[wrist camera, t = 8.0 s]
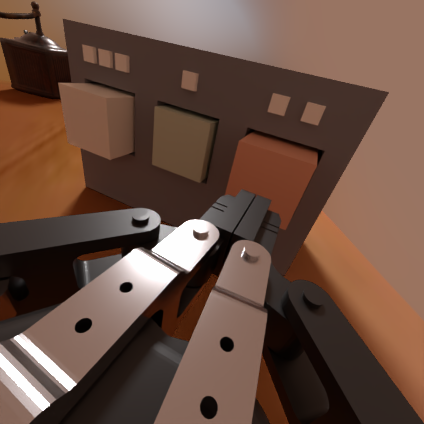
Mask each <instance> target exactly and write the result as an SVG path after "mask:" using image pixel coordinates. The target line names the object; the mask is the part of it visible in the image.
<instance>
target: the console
mask: <svg viewBox="0 0 424 424" xmlns="http://www.w3.org/2000/svg"><path fill="white" fill-rule="evenodd" d="M63 24H64V32H65V39H66V46H67V53H68V60H69V68H70V75H71V82H72V83H97V84H105V85H108V86H112V87H115V88H118V89H122V90H125V91H128V92H132V93H135V152H132V153H129V154H126V155H123V156H120V157H117V158H115V159H112V160H109V159H107V158H104V157H102V156H99V155H97V154H94V153H92V152H89V151H87V150H84V149H82V148H81V154H82V161H83V169H84V176H85V183H86V187H89V188H91V189H93V190H95V191H98V192H100V193H102V194H104V195H106V196H109V197H111V198H113V199H115V200H117V201H120V202H122V203H124V204H126V205H129V206H131V207H133V208H146V209H150V210H153V211H155V212H156V213H157V214H158V215H159V216H160V218H161V220H162V221H164V222H166V223H168V224H171V225H173V226H175V227H180V226H182V225H183V224H184V223H186V222H187V221H190V220H199V219H200V218H201V217H202V216H203V215H204V214H205V213H206V212H207V211H208V210H209V209H210V208H211V207H212V205H213V204H214V203H216V201H217V200H218V199H219V198H220V197H222V196H225V192H226V188H227V185H228V181H229V177H230V173H231V169H232V165H233V162H234V158H235V154H236V150H237V146H238V143H239V140H241V139H242V138H244V137H245V136H247V135H249V134H250V133H252V132H253V131H255V130H257V131H261V132H264V133H267V134H271V135H274V136H277V137H281V138H284V139H287V140H291V141H294V142H297V143H301V144H304V145H307V146H310V147H314V148H317V149H318V159H317V167H316V169H315V171H314V173H313V175H312V177H311V179H310V181H309V183H308V185H307V187H306V189H305V191H304V193H303V195H302V198H301V200H300V202H299V204H298V206H297V208H296V210H295V212H294V214H293V216H292V218H291V220H290V222H289V224H288V226H287V228H286V230H284V229H281V228H279V231H278V234H277V237H276V240H275V244H274V247H273V250H272V253H271V262H272V264H273V266H274V268H275V269H276V270H277V271H278V272H279V273H280V274H281V275H284V276H285V274H286V272H287V270H288V269H289V267H290V265H291V263H292V262H293V260H294V258H295V256H296V254H297V253H298V251H299V249H300V247H301V246H302V244H303V242H304V240H305V239H306V237H307V235H308V233H309V232H310V230H311V228H312V226H313V225H314V223H315V221H316V219H317V218H318V216H319V214H320V212H321V211H322V209H323V207H324V205H325V204H326V202H327V200H328V198H329V197H330V195H331V193H332V191H333V190H334V188H335V186H336V184H337V183H338V181H339V179H340V177H341V175H342V174H343V172H344V170H345V169H346V167H347V165H348V163H349V161H350V160H351V158H352V156H353V155H354V153H355V151H356V149H357V148H358V146H359V144H360V142H361V141H362V139H363V137H364V135H365V134H366V132H367V130H368V128H369V127H370V125H371V123H372V121H373V119H374V118H375V116H376V114H377V112H378V111H379V109H380V107H381V105H382V103H383V102H384V100H385V98H386V96H387V95H388V92H385V91H380V90H376V89H371V88H367V87H363V86H358V85H354V84H349V83H345V82H340V81H336V80H332V79H327V78H323V77H318V76H314V75H309V74H305V73H300V72H296V71H292V70H287V69H282V68H278V67H274V66H269V65H265V64H261V63H256V62H252V61H247V60H243V59H238V58H234V57H230V56H225V55H220V54H216V53H212V52H208V51H203V50H199V49H194V48H190V47H185V46H180V45H177V44H172V43H168V42H163V41H159V40H154V39H150V38H146V37H141V36H137V35H132V34H128V33H124V32H119V31H115V30H110V29H106V28H101V27H97V26H92V25H88V24H83V23H79V22H75V21H70V20H66V19H63ZM164 105H175V106H178V107H181V108H185V109H188V110H191V111H195V112H198V113H201V114H204V115H208V116H211V117H214V118H218V119H220V120H219V125H218V130H217V135H216V139H215V144H214V149H213V154H212V159H211V164H210V169H209V174H208V177H207V178H205V179H204V180H203V181H201V182H200V183H199V182H196V181H194V180H191V179H188V178H186V177H183V176H181V175H178V174H175V173H173V172H170V171H168V170H165V169H162V168H160V167H157V166H155V165H152V153H153V132H154V110H155V106H164Z"/></svg>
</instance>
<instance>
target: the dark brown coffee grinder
mask: <svg viewBox="0 0 424 424" xmlns="http://www.w3.org/2000/svg"><path fill="white" fill-rule="evenodd" d="M31 6H32V8H33V10H32V13H28V14H27V13H2V12H0V18H5V19H32V18H35V23H36V29H37V31H36V33H31V32H29V33H28V32H27V31H26V30H24V33H25V34H24V35H23V36H21V37H20V38H18V37H15V38H14V39H6V38H0V42H1V45H2V49H3V53H4V57H5V60H6V64H7V68H8V71H9V75H10V79H11V83H12V85H11V87H12V88H14V89H17V90H20V91H23V92H27V93H30V94H34V95H38V96H42V97H46V98H51V99H61V97H60V91H59V85H58V83H72V82H71V75H70V68H69V60H68V53H67V50H66V49H63V48H61V47H60V46H59V45H58V44H57V43H56V42H54V41H53V40H51V39H50V38H48V37H45V36H44V34H43V32H42V29H41V23H40V16H41V14H40V12H39V5H38V4H37V3H36V2H31Z"/></svg>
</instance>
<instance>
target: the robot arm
mask: <svg viewBox="0 0 424 424" xmlns="http://www.w3.org/2000/svg"><path fill="white" fill-rule="evenodd" d="M271 201H272V200H270V199H268V198H265V197H262V196H260V195H257V196H256V194H254V193H251V192H249V191H246V190H243V189H241V191H240V192H239V193H238V194H237V196H236V197H234V196H231V195H229V194H228V195H225V196H222V197H220V198H219V199H218V200H217V201H216V203H214V204H213V205H212V207H211V208H210V209H209V210H208V211H207V212H206V213H205V214H204V215H203V216H202V217H201V218H200V219H199V220H190V221H187V222H186V223H184V224H183V225H182V226H180V227H172V226H167V225H162V224H160V222H161V218H160V216H159V215H158V214H157V213H156V212H155V211H153V210H150V209H146V208H134V209H125V210H116V211H107V212H98V213H89V214H80V215H71V216H62V217H53V218H44V219H35V220H26V221H17V222H8V223H0V424H270V423H269V420H268V418H267V416H266V414H265V412H264V411H263V409H262V407H261V405H260V404H259V402H258V401H257V399H256V398H255V396H256V390H257V383H258V376H259V369H260V363H261V356H262V354H263V357H264V359H265V362H266V365H267V367H268V370H269V372H270V375H271V378H272V380H273V383H274V385H275V388H276V391H277V393H278V396H279V399H280V401H281V404H282V406H283V409H284V412H285V414H286V417H287V419H288V422H289V424H424V423H423V421H422V420H421V419H420V417H419V416H418V415H417V413H416V412H415V411H414V409H413V408H412V407H411V405H410V404H409V403H408V401H407V400H406V399H405V397H404V396H403V394H402V393H401V392H400V390H399V389H398V388H397V386H396V385H395V384H394V382H393V381H392V380H391V378H390V377H389V376H388V374H387V373H386V372H385V370H384V369H383V367H382V366H381V365H380V363H379V362H378V361H377V359H376V358H375V357H374V355H373V354H372V353H371V351H370V350H369V349H368V347H367V346H366V345H365V343H364V342H363V340H362V339H361V338H360V336H359V335H358V334H357V332H356V331H355V330H354V328H353V327H352V326H351V324H350V323H349V322H348V320H347V319H346V318H345V316H344V315H343V313H342V312H341V311H340V309H339V308H338V307H337V305H336V304H335V303H334V301H333V300H332V299H331V297H330V296H329V295H328V294H327V293H326V292H325V291H324V290H323V289H322V288H321V287H319V286H318V285H316V284H314V283H312V282H310V281H306V280H295V281H293V282H292V283H291V282H290V281H288V280H287V279H286V278H284V277H283V276H282V275H281V274H280V273H279V272H278V271H277V270H276V269H275V268H274V266H273V264H272V262H271V253H272V250H273V247H274V244H275V240H276V237H277V234H278V231H279V227H280V224H281V219H280V216H279V214H278V213H275V212H273V211H270V210H268V208H269V206H270V204H271ZM115 248H121V254H118V255H113V256H108V257H103V258H99V259H94V260H89V261H81V260H79V259H77V257H79V256H81V255H84V254H89V253H94V252H99V251H105V250H110V249H115ZM221 270H222V271H221ZM220 272H221V273H220ZM219 273H220V276H219V278H218V280H217V283H216V285H215V286H214V287H213V289H212V291H211V293H210V295H209V298H208V300H207V302H206V305H205V307H204V309H203V311H202V314H201V316H200V318H199V321H198V323H197V325H196V328H195V330H194V332H193V334H192V337H191V339H190V341H189V342H188V341H185V340H181V339H177V338H173V337H172V336H173V334H174V331H175V329H176V328H177V326H178V324H179V323H180V321H181V320H182V318H183V317H184V316H185V314H186V313H187V311H188V310H189V309H190V307H191V306H192V304H193V303H194V302H195V300H196V299H197V297H198V296H199V295H200V293H201V292H202V290H203V289H204V287H205V285H206V282H207V281H208V279H209V278H210V276H211V274H215V275H217V276H218V275H219Z"/></svg>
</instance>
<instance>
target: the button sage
mask: <svg viewBox="0 0 424 424" xmlns="http://www.w3.org/2000/svg"><path fill="white" fill-rule="evenodd" d="M219 120H220V119H218V118H214V117H211V116H208V115H204V114H201V113H198V112H195V111H191V110H188V109H185V108H181V107H178V106H175V105H164V106H155V110H154V132H153V153H152V165H155V166H157V167H160V168H162V169H165V170H168V171H170V172H173V173H175V174H178V175H181V176H183V177H186V178H188V179H191V180H194V181H196V182H199V183H200V182H201V181H203V180H204V179H205V178H207V177H208V174H209V169H210V164H211V159H212V154H213V149H214V144H215V139H216V135H217V130H218V125H219Z"/></svg>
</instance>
